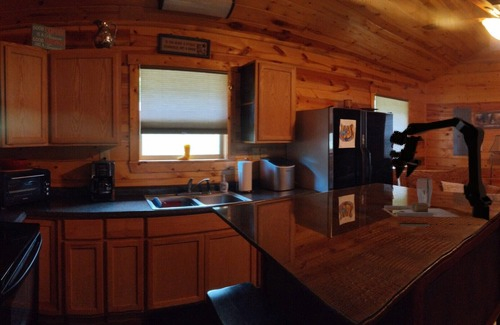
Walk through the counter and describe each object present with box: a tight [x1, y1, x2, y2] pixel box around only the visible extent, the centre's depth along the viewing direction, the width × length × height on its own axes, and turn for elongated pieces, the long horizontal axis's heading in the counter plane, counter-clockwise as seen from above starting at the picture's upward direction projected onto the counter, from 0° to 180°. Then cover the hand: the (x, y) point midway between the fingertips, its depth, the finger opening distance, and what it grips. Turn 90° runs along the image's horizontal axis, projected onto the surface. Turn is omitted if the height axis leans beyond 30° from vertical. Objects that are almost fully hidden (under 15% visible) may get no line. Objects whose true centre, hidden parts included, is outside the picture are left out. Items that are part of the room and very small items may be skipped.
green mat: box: [396, 222, 430, 227], centre depth 134 cm, size 11×11×1 cm
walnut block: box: [411, 202, 429, 212], centre depth 147 cm, size 5×5×4 cm
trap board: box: [382, 205, 461, 218], centre depth 148 cm, size 17×27×3 cm, turn 85°
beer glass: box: [416, 177, 433, 208], centre depth 162 cm, size 7×7×15 cm
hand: (402, 177), depth 164 cm, fingers open, 9 cm apart
